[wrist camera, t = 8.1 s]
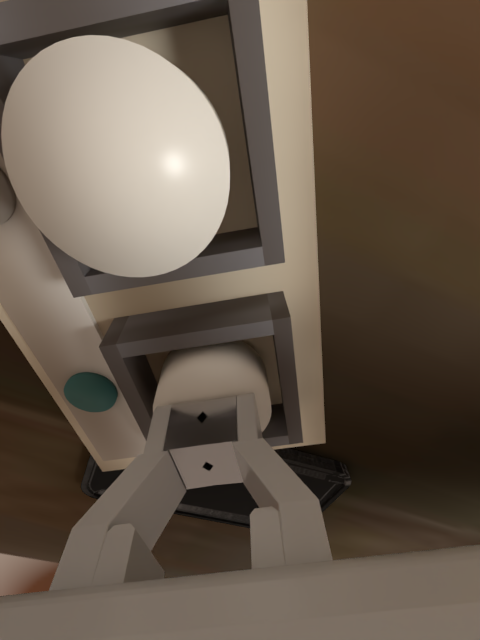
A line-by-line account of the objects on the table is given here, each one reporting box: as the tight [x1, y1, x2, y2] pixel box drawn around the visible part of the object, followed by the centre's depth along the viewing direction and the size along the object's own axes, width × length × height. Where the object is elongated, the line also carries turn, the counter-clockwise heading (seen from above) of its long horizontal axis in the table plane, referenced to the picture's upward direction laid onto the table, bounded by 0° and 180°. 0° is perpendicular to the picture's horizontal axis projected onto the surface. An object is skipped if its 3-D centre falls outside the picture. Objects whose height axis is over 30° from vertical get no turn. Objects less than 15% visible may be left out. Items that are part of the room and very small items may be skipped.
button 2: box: [153, 340, 272, 432], centre depth 11 cm, size 4×4×2 cm
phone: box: [81, 448, 351, 528], centre depth 20 cm, size 8×1×15 cm
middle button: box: [1, 35, 230, 277], centre depth 6 cm, size 4×4×2 cm
